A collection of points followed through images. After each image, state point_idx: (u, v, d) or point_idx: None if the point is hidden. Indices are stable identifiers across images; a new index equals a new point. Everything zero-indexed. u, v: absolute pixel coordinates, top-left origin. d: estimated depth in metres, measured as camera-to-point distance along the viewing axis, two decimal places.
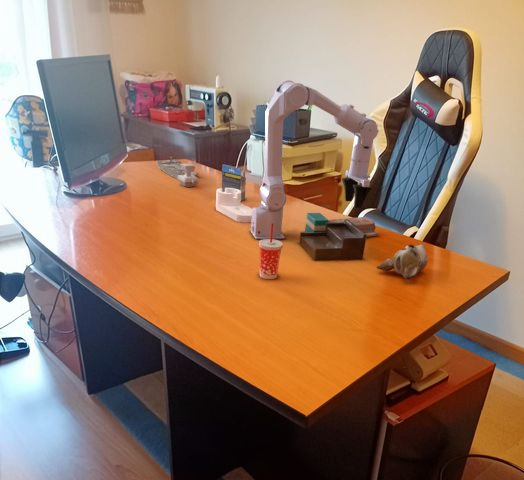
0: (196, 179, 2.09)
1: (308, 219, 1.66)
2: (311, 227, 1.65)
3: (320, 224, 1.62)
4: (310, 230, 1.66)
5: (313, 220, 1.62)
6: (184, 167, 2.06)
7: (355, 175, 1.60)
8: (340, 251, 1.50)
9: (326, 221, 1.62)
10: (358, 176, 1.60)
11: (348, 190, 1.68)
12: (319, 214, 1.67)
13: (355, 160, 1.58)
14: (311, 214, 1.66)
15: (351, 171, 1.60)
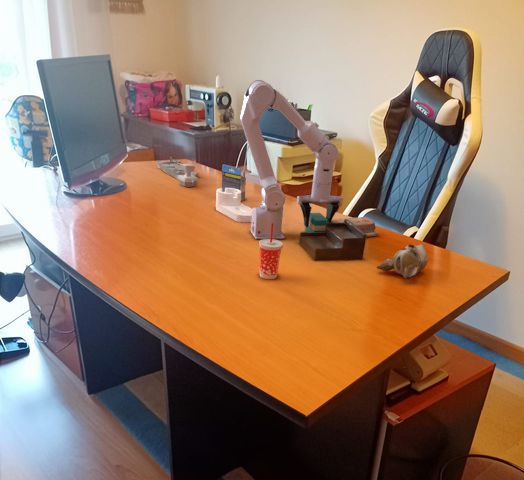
0: (196, 179, 2.09)
1: None
2: (311, 227, 1.65)
3: (320, 224, 1.62)
4: (310, 230, 1.66)
5: (313, 220, 1.62)
6: (184, 167, 2.06)
7: None
8: (340, 251, 1.50)
9: (326, 221, 1.62)
10: (311, 195, 1.62)
11: (328, 214, 1.66)
12: (319, 214, 1.67)
13: (316, 182, 1.57)
14: (311, 214, 1.66)
15: None
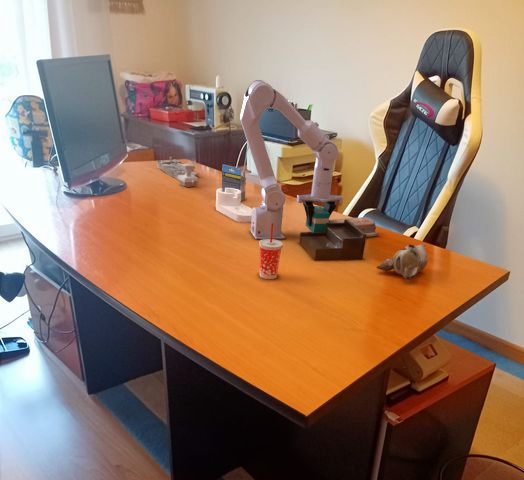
0: (196, 179, 2.09)
1: None
2: None
3: (321, 217, 1.61)
4: None
5: (314, 213, 1.61)
6: (184, 167, 2.06)
7: None
8: (340, 251, 1.50)
9: (327, 214, 1.61)
10: (311, 194, 1.61)
11: None
12: (320, 207, 1.65)
13: (316, 182, 1.57)
14: None
15: None
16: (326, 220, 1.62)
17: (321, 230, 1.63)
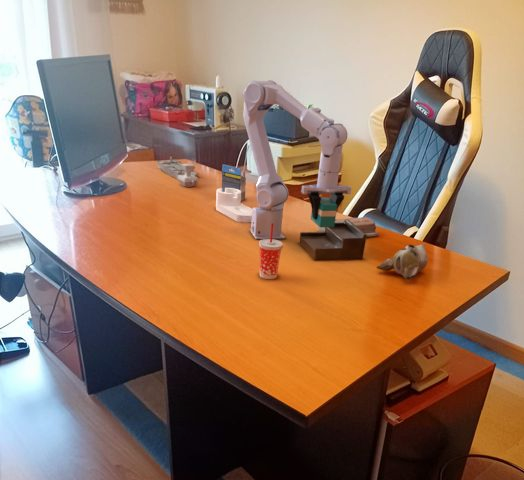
0: (196, 179, 2.09)
1: None
2: None
3: (328, 209, 1.48)
4: None
5: (320, 205, 1.48)
6: (184, 167, 2.06)
7: None
8: (340, 251, 1.50)
9: (334, 206, 1.48)
10: (316, 185, 1.48)
11: None
12: (327, 199, 1.52)
13: (319, 169, 1.46)
14: None
15: None
16: (333, 212, 1.49)
17: (328, 223, 1.50)
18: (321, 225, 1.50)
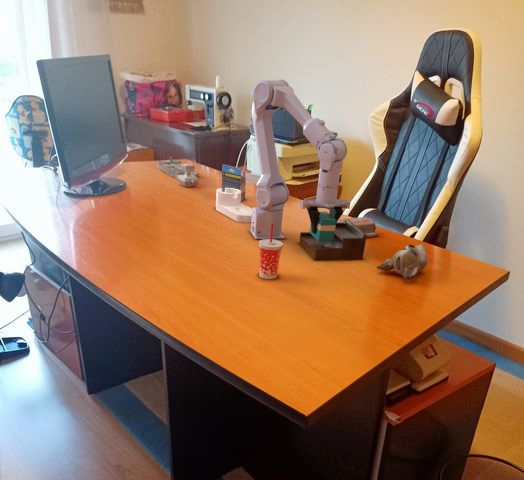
0: (196, 179, 2.09)
1: None
2: None
3: (327, 224, 1.48)
4: None
5: (319, 219, 1.48)
6: (184, 167, 2.06)
7: None
8: (340, 251, 1.50)
9: (333, 220, 1.48)
10: (315, 199, 1.48)
11: None
12: (326, 213, 1.52)
13: (318, 183, 1.46)
14: None
15: None
16: (332, 227, 1.49)
17: (327, 238, 1.50)
18: (320, 239, 1.50)
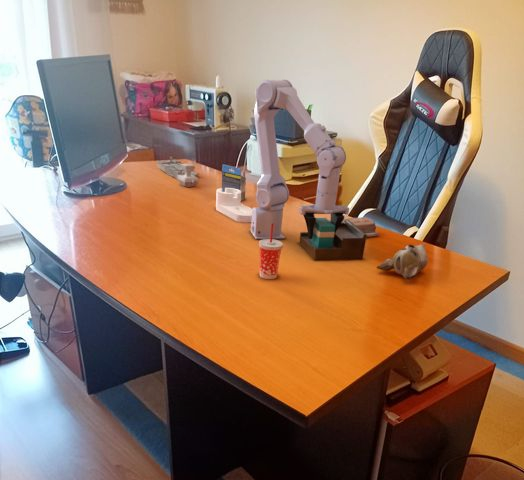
0: (196, 179, 2.09)
1: None
2: (315, 234, 1.51)
3: (326, 230, 1.49)
4: (315, 237, 1.52)
5: (318, 226, 1.49)
6: (184, 167, 2.06)
7: None
8: (340, 251, 1.50)
9: (332, 227, 1.49)
10: (314, 205, 1.49)
11: None
12: (325, 219, 1.53)
13: (317, 190, 1.47)
14: (316, 219, 1.53)
15: None
16: (331, 233, 1.50)
17: (326, 244, 1.51)
18: (319, 246, 1.51)
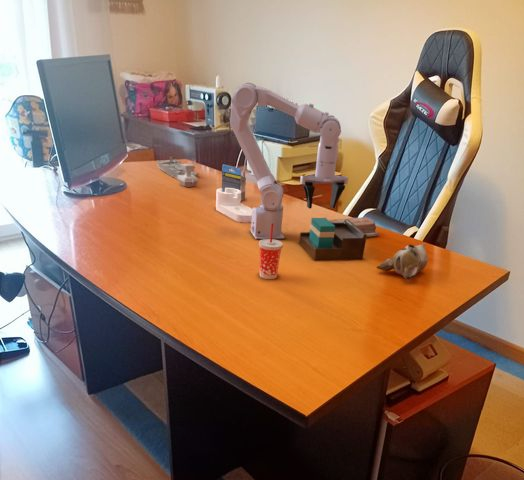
0: (196, 179, 2.09)
1: (313, 224, 1.53)
2: (315, 234, 1.51)
3: (326, 230, 1.49)
4: (315, 237, 1.52)
5: (318, 226, 1.49)
6: (184, 167, 2.06)
7: None
8: (340, 251, 1.50)
9: (332, 227, 1.49)
10: (315, 175, 1.55)
11: (333, 195, 1.59)
12: (325, 219, 1.53)
13: (318, 161, 1.51)
14: (316, 219, 1.53)
15: None
16: (331, 233, 1.50)
17: (326, 244, 1.51)
18: (319, 246, 1.51)
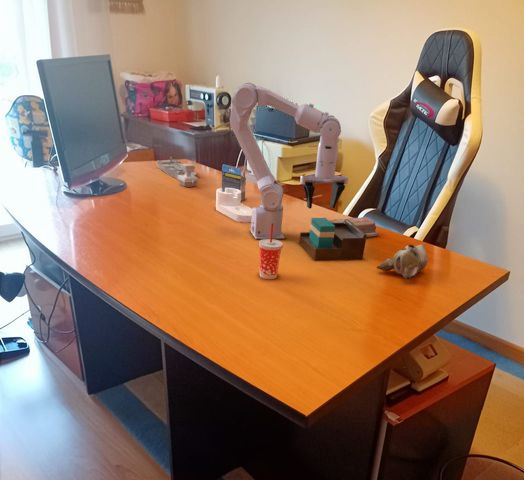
0: (196, 179, 2.09)
1: (313, 224, 1.53)
2: (315, 234, 1.51)
3: (326, 230, 1.49)
4: (315, 237, 1.52)
5: (318, 226, 1.49)
6: (184, 167, 2.06)
7: None
8: (340, 251, 1.50)
9: (332, 227, 1.49)
10: (315, 175, 1.55)
11: (333, 195, 1.59)
12: (325, 219, 1.53)
13: (318, 161, 1.51)
14: (316, 219, 1.53)
15: None
16: (331, 233, 1.50)
17: (326, 244, 1.51)
18: (319, 246, 1.51)
